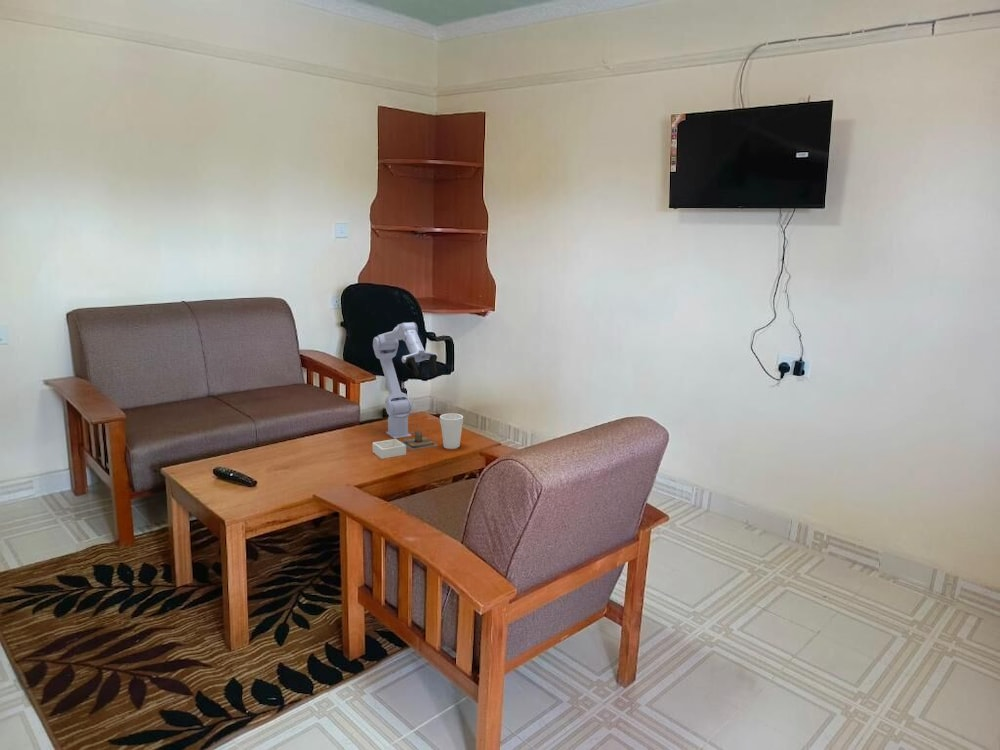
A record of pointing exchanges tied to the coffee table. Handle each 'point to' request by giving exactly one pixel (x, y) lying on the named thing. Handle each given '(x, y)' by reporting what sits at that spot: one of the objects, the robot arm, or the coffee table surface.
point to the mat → (419, 447)
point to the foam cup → (451, 430)
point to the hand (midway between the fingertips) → (426, 374)
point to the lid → (418, 441)
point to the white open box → (389, 448)
